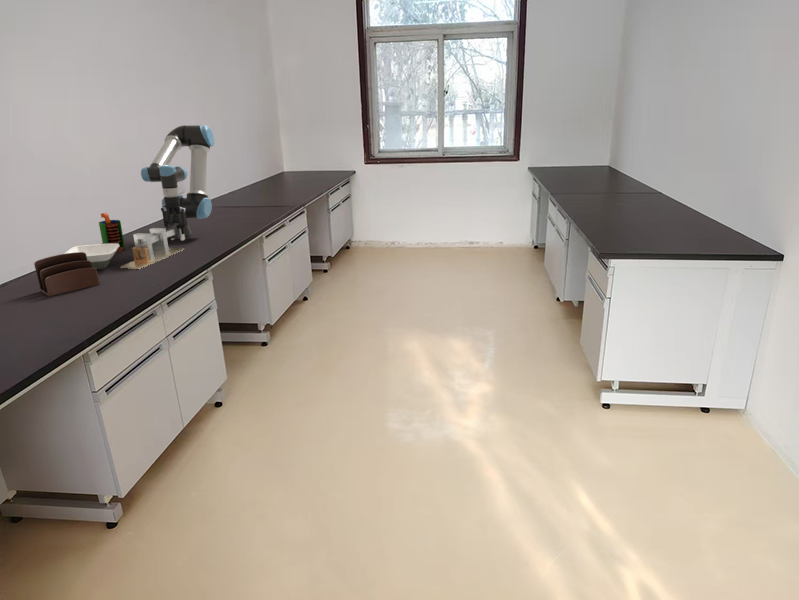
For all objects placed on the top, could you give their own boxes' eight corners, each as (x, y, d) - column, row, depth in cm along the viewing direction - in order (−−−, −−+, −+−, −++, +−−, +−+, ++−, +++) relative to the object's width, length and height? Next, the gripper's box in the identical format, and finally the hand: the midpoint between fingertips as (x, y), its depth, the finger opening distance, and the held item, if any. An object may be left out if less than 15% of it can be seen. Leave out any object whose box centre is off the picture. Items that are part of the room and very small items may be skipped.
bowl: (62, 275, 244) (58, 257, 241) (76, 262, 265) (72, 245, 262) (115, 271, 250) (112, 254, 247) (125, 258, 270) (122, 242, 267)
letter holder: (40, 291, 224) (32, 259, 219) (91, 280, 238) (84, 249, 233) (48, 297, 218) (40, 263, 213) (100, 285, 232) (93, 253, 227)
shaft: (140, 249, 263) (138, 235, 260) (177, 235, 290) (175, 223, 287) (149, 250, 262) (147, 236, 259) (185, 236, 289) (183, 223, 286)
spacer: (134, 262, 261) (131, 248, 258) (137, 260, 262) (134, 247, 260) (147, 262, 259) (145, 248, 257) (150, 261, 261) (147, 247, 259)
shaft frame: (120, 268, 254) (115, 239, 249) (167, 249, 287) (163, 223, 282) (139, 269, 252) (133, 240, 247) (184, 250, 285) (180, 224, 280)
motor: (114, 253, 279) (107, 215, 272) (99, 253, 281) (92, 215, 274) (127, 248, 288) (120, 211, 281) (113, 248, 290) (106, 211, 283)
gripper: (151, 196, 277) (158, 240, 286) (182, 197, 274) (189, 242, 282) (160, 194, 284) (167, 237, 292) (191, 195, 280) (197, 238, 288)
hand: (178, 239), depth 287 cm, fingers closed on shaft, 5 cm apart
